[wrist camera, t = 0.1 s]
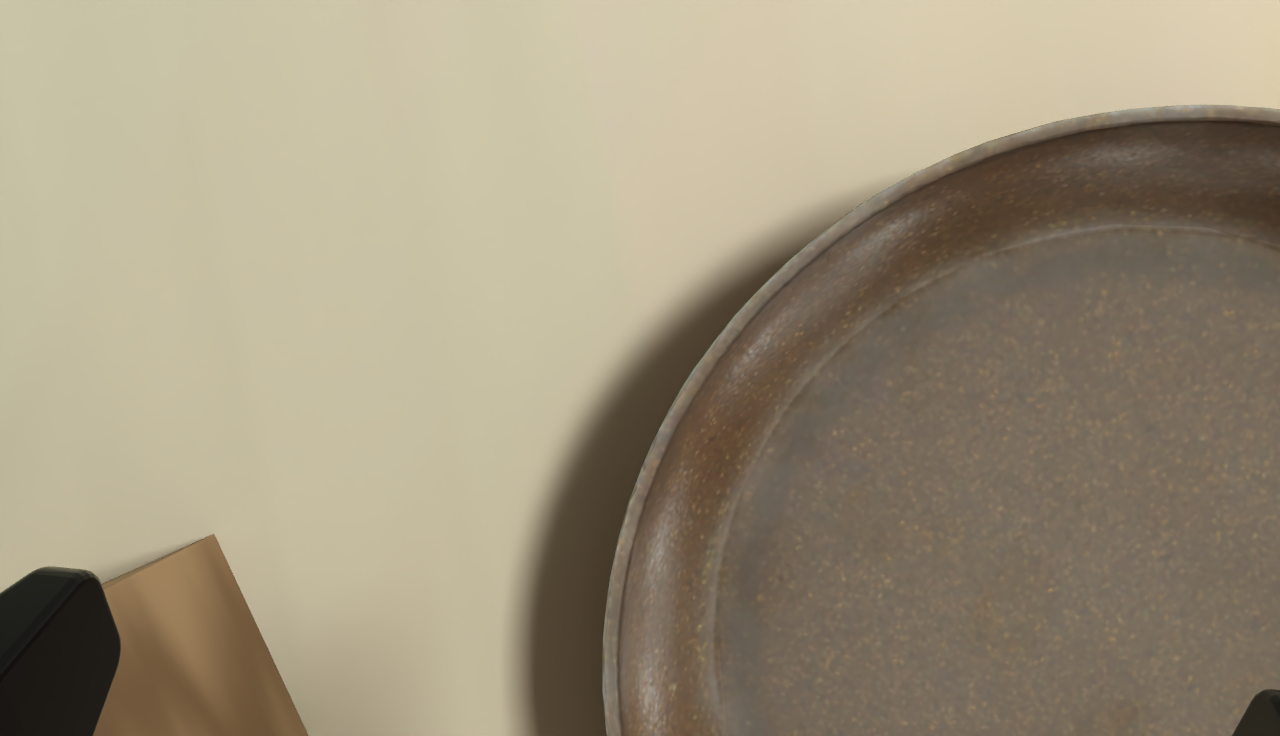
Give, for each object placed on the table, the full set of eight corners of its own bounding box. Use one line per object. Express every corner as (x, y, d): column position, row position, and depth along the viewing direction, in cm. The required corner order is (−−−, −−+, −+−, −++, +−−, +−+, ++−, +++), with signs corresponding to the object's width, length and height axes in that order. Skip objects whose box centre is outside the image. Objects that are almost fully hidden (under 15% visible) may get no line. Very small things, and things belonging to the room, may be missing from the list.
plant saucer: (1039, 1294, 25) (1087, 1448, 22) (419, 567, 25) (373, 611, 22) (1868, 710, 23) (2060, 782, 20) (1198, -91, 23) (1278, -154, 19)
